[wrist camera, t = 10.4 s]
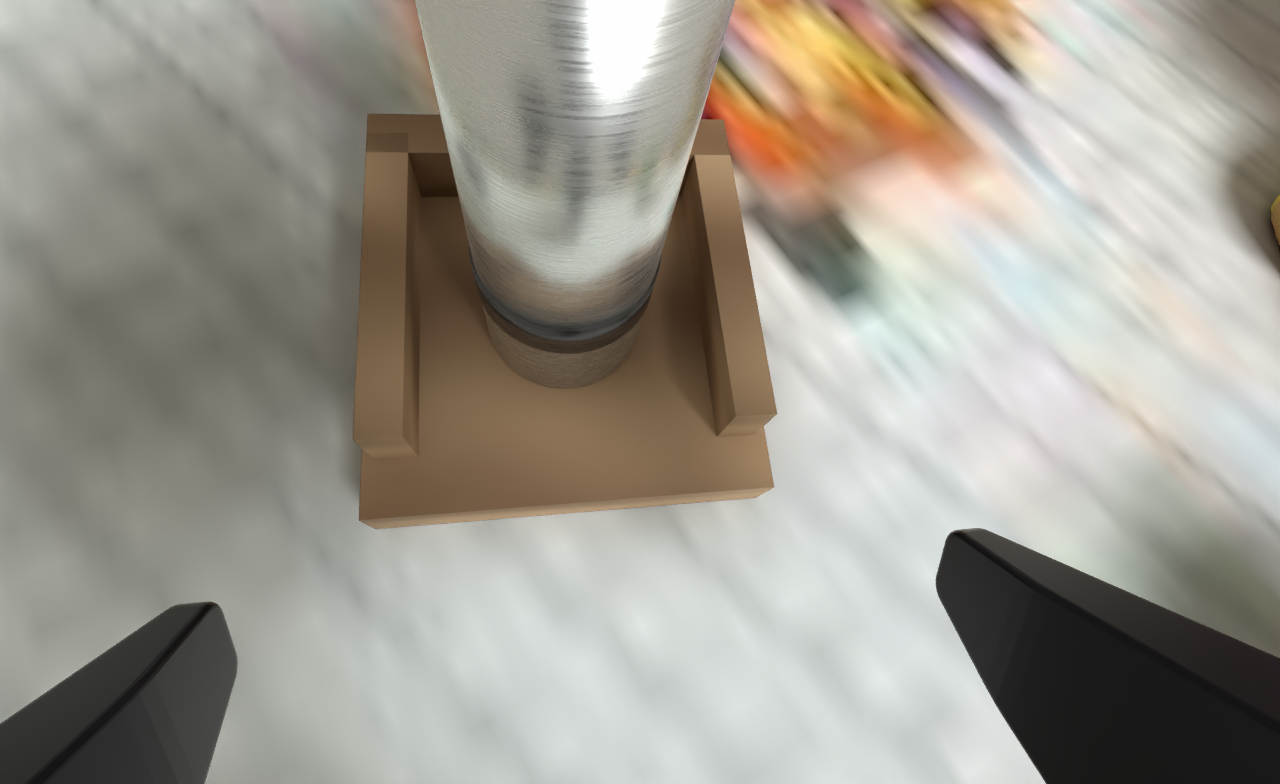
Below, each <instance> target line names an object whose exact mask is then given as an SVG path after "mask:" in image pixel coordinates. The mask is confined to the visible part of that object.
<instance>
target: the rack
mask: <svg viewBox="0 0 1280 784" xmlns="http://www.w3.org/2000/svg"><path fill="white" fill-rule="evenodd" d="M776 414H777V411H776V405H775V400H774V394H773V389H772V383H771V378H770V372H769V367H768V361H767V356H766V350H765V345H764V339H763V334H762V328H761V323H760V317H759V312H758V306H757V300H756V295H755V289H754V284H753V278H752V273H751V267H750V262H749V256H748V251H747V245H746V240H745V234H744V229H743V223H742V218H741V212H740V207H739V201H738V196H737V190H736V185H735V179H734V173H733V168H732V162H731V157H730V151H729V146H728V140H727V135H726V129H725V124H724V120H703V119H700V122H699V126H698V129H697V133H696V136H695V140H694V143H693V146H692V150H691V153H690V157H689V160H688V164H687V167H686V170H685V174H684V177H683V181H682V184H681V188H680V191H679V194H678V198H677V201H676V205H675V208H674V212H673V215H672V218H671V222H670V225H669V229H668V232H667V236H666V239H665V242H664V246H663V249H662V253H661V262H660V268H659V271H658V274H657V278H656V281H655V285H654V288H653V291H652V295H651V298H650V301H649V304H648V306H647V308H646V310H645V312H644V314H643V318H642V321H641V325H640V328H639V331H638V335H637V338H636V341H635V344H634V347H633V349H632V351H631V353H630V355H629V356H628V358H627V359H626V361H625V362H624V363H623V364H622V365H621V366H620V367H619V368H618V369H617V370H616V371H615V372H613V373H612V374H611V375H609V376H608V377H606V378H605V379H603V380H601V381H599V382H597V383H594V384H591V385H588V386H585V387H580V388H573V389H557V388H550V387H544V386H541V385H538V384H535V383H533V382H530V381H528V380H526V379H524V378H523V377H521V376H519V375H518V374H516V373H515V372H514V371H513V370H511V369H510V368H509V367H508V366H507V365H506V364H505V363H504V362H503V361H502V359H501V358H500V356H499V355H498V354H497V352H496V350H495V348H494V346H493V344H492V341H491V338H490V335H489V331H488V326H487V322H486V317H485V313H484V308H483V304H482V302H481V300H480V297H479V294H478V292H477V288H476V283H475V279H474V274H473V270H472V266H471V261H470V256H469V243H468V236H467V232H466V228H465V223H464V219H463V214H462V210H461V205H460V201H459V196H458V192H457V187H456V183H455V178H454V174H453V169H452V165H451V160H450V156H449V151H448V147H447V142H446V138H445V133H444V129H443V124H442V120H441V115H415V114H368V118H367V140H366V162H365V184H364V206H363V227H362V249H361V271H360V293H359V315H358V337H357V359H356V381H355V403H354V425H353V440H354V441H355V442H356V443H357V444H358V445H359V446H360V447H361V448H362V455H361V480H360V504H359V521H361V522H363V523H365V524H367V525H369V526H371V527H373V528H374V529H382V528H394V527H406V526H418V525H430V524H443V523H455V522H467V521H479V520H491V519H503V518H515V517H528V516H540V515H552V514H564V513H576V512H588V511H600V510H613V509H625V508H637V507H649V506H661V505H673V504H685V503H698V502H710V501H722V500H734V499H746V498H756V497H758V496H760V495H761V494H763V493H765V492H766V491H768V490H770V489H772V488H773V487H774V484H773V478H772V472H771V467H770V461H769V455H768V449H767V444H766V438H765V432H764V425H765V424H766V423H768V422H769V421H770V420H771V419H772V418H773V417H774V416H775V415H776Z"/></svg>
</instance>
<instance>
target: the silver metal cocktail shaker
mask: <svg viewBox="0 0 1280 784" xmlns="http://www.w3.org/2000/svg"><path fill="white" fill-rule="evenodd" d="M734 2H735V0H415V3H416V7H417V12H418V16H419V21H420V25H421V30H422V34H423V39H424V43H425V48H426V52H427V57H428V61H429V66H430V70H431V75H432V79H433V84H434V88H435V93H436V97H437V102H438V106H439V111H440V115H441V120H442V124H443V129H444V133H445V138H446V142H447V147H448V151H449V156H450V160H451V165H452V169H453V174H454V178H455V183H456V187H457V192H458V196H459V201H460V205H461V210H462V214H463V219H464V223H465V228H466V232H467V236H468V243H469V256H470V261H471V266H472V270H473V274H474V279H475V283H476V288H477V292H478V294H479V297H480V300H481V302H482V304H483V308H484V313H485V317H486V322H487V326H488V331H489V335H490V338H491V341H492V344H493V346H494V348H495V350H496V352H497V354H498V355H499V356H500V358H501V359H502V361H503V362H504V363H505V364H506V365H507V366H508V367H509V368H510V369H511V370H513V371H514V372H515V373H516V374H518V375H519V376H521V377H523V378H524V379H526V380H528V381H530V382H533V383H535V384H538V385H541V386H544V387H550V388H557V389H573V388H580V387H585V386H588V385H591V384H594V383H597V382H599V381H601V380H603V379H605V378H606V377H608V376H609V375H611V374H612V373H613V372H615V371H616V370H617V369H618V368H619V367H620V366H621V365H622V364H623V363H624V362H625V361H626V359H627V358H628V356H629V355H630V353H631V351H632V349H633V347H634V344H635V341H636V338H637V335H638V331H639V328H640V325H641V321H642V318H643V314H644V312H645V310H646V308H647V306H648V304H649V301H650V298H651V295H652V291H653V288H654V285H655V281H656V278H657V274H658V271H659V268H660V262H661V253H662V249H663V246H664V242H665V239H666V236H667V232H668V229H669V225H670V222H671V218H672V215H673V212H674V208H675V205H676V201H677V198H678V194H679V191H680V188H681V184H682V181H683V177H684V174H685V170H686V167H687V164H688V160H689V157H690V153H691V150H692V146H693V143H694V140H695V136H696V133H697V129H698V126H699V122H700V119H701V116H702V112H703V109H704V105H705V102H706V98H707V95H708V92H709V88H710V85H711V81H712V78H713V74H714V71H715V68H716V64H717V61H718V57H719V54H720V50H721V47H722V44H723V40H724V37H725V33H726V30H727V26H728V23H729V20H730V16H731V13H732V9H733V6H734Z"/></svg>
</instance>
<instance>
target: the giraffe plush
mask: <svg viewBox="0 0 1280 784" xmlns="http://www.w3.org/2000/svg"><path fill="white" fill-rule="evenodd" d="M1271 215H1272V216H1271V221H1272V224H1273V227H1274V230H1275V233H1276V239H1277V241H1278V244H1279V246H1280V195H1279V196H1278V197H1277V198H1276V199H1275V201H1274V203H1273V204H1272V206H1271Z"/></svg>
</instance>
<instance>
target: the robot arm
mask: <svg viewBox="0 0 1280 784" xmlns="http://www.w3.org/2000/svg"><path fill="white" fill-rule="evenodd" d="M936 589H937V593H938V596H939V598H940V600H941V602H942V604H943V606H944V608H945V610H946V612H947V614H948V616H949V618H950V620H951V621H952V623H953V625H954V627H955V629H956V631H957V633H958V635H959V637H960V639H961V641H962V643H963V644H964V646H965V648H966V650H967V652H968V654H969V656H970V658H971V660H972V662H973V664H974V665H975V667H976V669H977V671H978V673H979V675H980V677H981V679H982V681H983V683H984V685H985V686H986V688H987V690H988V692H989V694H990V695H991V697H992V699H993V701H994V702H995V704H996V706H997V707H998V709H999V711H1000V712H1001V714H1002V716H1003V717H1004V719H1005V720H1006V722H1007V724H1008V725H1009V727H1010V728H1011V730H1012V731H1013V733H1014V734H1015V736H1016V738H1017V739H1018V741H1019V742H1020V744H1021V745H1022V747H1023V748H1024V750H1025V752H1026V753H1027V755H1028V756H1029V758H1030V759H1031V761H1032V762H1033V764H1034V765H1035V767H1036V769H1037V770H1038V772H1039V773H1040V775H1041V776H1042V778H1043V779H1044V781H1045V783H1046V784H1280V658H1278V657H1275V656H1273V655H1271V654H1269V653H1266V652H1264V651H1262V650H1259V649H1257V648H1255V647H1253V646H1250V645H1248V644H1246V643H1243V642H1241V641H1239V640H1237V639H1234V638H1232V637H1230V636H1227V635H1225V634H1223V633H1221V632H1218V631H1216V630H1214V629H1211V628H1209V627H1207V626H1205V625H1202V624H1200V623H1198V622H1195V621H1193V620H1191V619H1189V618H1186V617H1184V616H1182V615H1179V614H1177V613H1175V612H1173V611H1170V610H1168V609H1166V608H1164V607H1161V606H1159V605H1157V604H1154V603H1152V602H1150V601H1148V600H1145V599H1143V598H1141V597H1138V596H1136V595H1134V594H1132V593H1129V592H1127V591H1125V590H1122V589H1120V588H1118V587H1116V586H1113V585H1111V584H1109V583H1106V582H1104V581H1102V580H1100V579H1097V578H1095V577H1093V576H1090V575H1088V574H1086V573H1084V572H1081V571H1079V570H1077V569H1074V568H1072V567H1070V566H1068V565H1065V564H1063V563H1061V562H1059V561H1056V560H1054V559H1052V558H1049V557H1047V556H1045V555H1043V554H1040V553H1038V552H1036V551H1033V550H1031V549H1029V548H1027V547H1024V546H1022V545H1020V544H1017V543H1015V542H1013V541H1011V540H1008V539H1006V538H1004V537H1001V536H999V535H997V534H995V533H992V532H990V531H988V530H985V529H981V528H972V529H962V530H955V531H953V532H951V533H950V534H949V535H948V537H947V539H946V541H945V545H944V549H943V553H942V557H941V560H940V564H939V568H938V572H937V575H936ZM236 674H237V655H236V651H235V648H234V645H233V642H232V639H231V636H230V632H229V629H228V626H227V623H226V620H225V617H224V614H223V612H222V609H221V608H220V606H219V605H218V604H216V603H214V602H199V603H188V604H180V605H175V606H173V607H171V608H169V609H167V610H166V611H164V612H163V613H161V614H160V615H159V616H157V617H156V618H154V619H153V620H151V621H150V622H148V623H147V624H145V625H144V626H142V627H141V628H140V629H138V630H137V631H135V632H134V633H132V634H131V635H129V636H128V637H126V638H125V639H123V640H122V641H121V642H119V643H118V644H116V645H115V646H113V647H112V648H110V649H109V650H107V651H106V652H104V653H103V654H102V655H100V656H99V657H97V658H96V659H94V660H93V661H91V662H90V663H88V664H87V665H85V666H84V667H83V668H81V669H80V670H78V671H77V672H75V673H74V674H72V675H71V676H69V677H68V678H66V679H65V680H64V681H62V682H61V683H59V684H58V685H56V686H55V687H53V688H52V689H50V690H49V691H47V692H46V693H45V694H43V695H42V696H40V697H39V698H37V699H36V700H34V701H33V702H31V703H30V704H28V705H27V706H26V707H24V708H23V709H21V710H20V711H18V712H17V713H15V714H14V715H12V716H11V717H9V718H8V719H7V720H5V721H4V722H2V723H1V724H0V784H205V780H206V777H207V774H208V770H209V767H210V763H211V760H212V757H213V753H214V750H215V746H216V743H217V740H218V736H219V733H220V729H221V726H222V723H223V719H224V716H225V712H226V709H227V706H228V702H229V699H230V695H231V692H232V689H233V685H234V682H235V678H236Z"/></svg>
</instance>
